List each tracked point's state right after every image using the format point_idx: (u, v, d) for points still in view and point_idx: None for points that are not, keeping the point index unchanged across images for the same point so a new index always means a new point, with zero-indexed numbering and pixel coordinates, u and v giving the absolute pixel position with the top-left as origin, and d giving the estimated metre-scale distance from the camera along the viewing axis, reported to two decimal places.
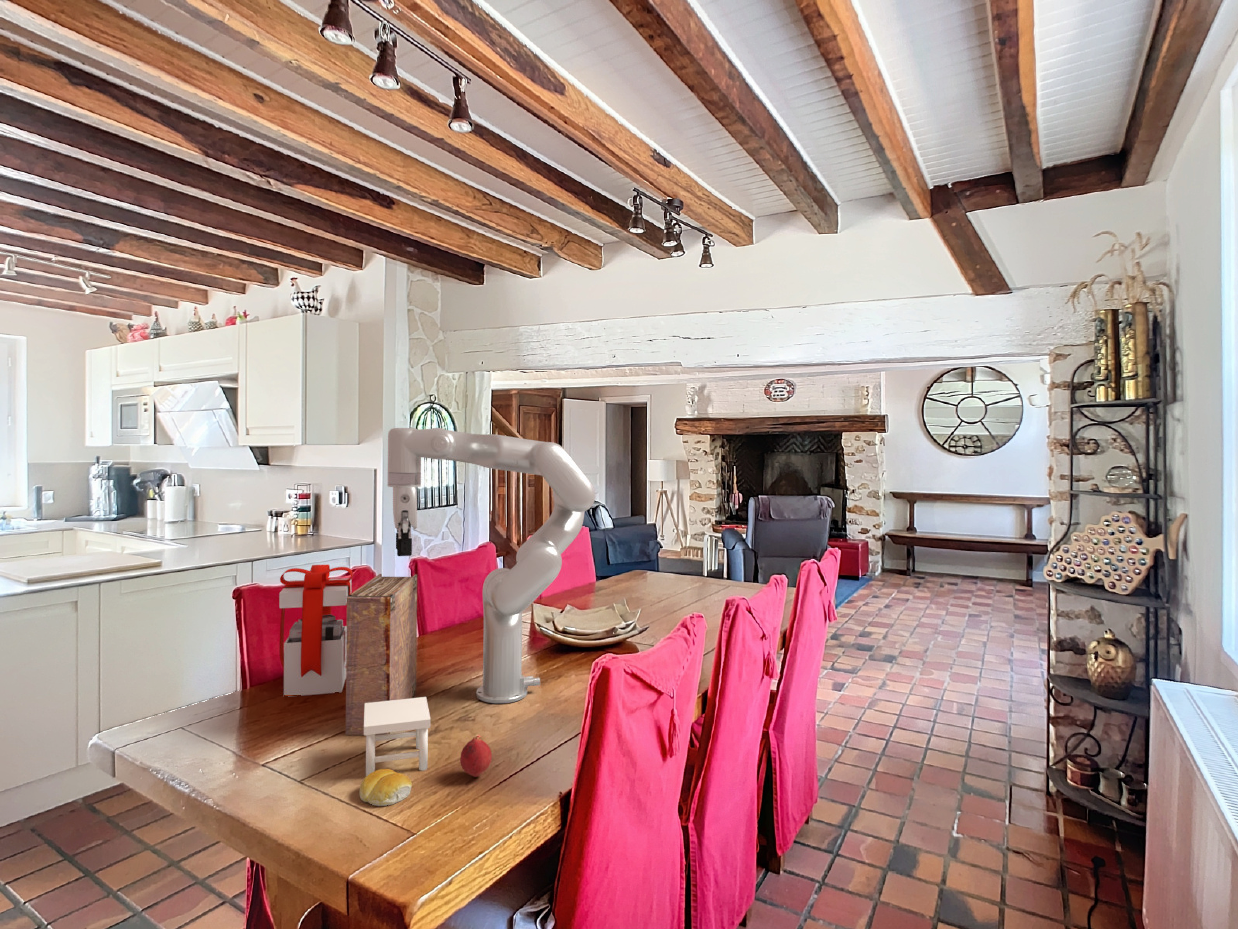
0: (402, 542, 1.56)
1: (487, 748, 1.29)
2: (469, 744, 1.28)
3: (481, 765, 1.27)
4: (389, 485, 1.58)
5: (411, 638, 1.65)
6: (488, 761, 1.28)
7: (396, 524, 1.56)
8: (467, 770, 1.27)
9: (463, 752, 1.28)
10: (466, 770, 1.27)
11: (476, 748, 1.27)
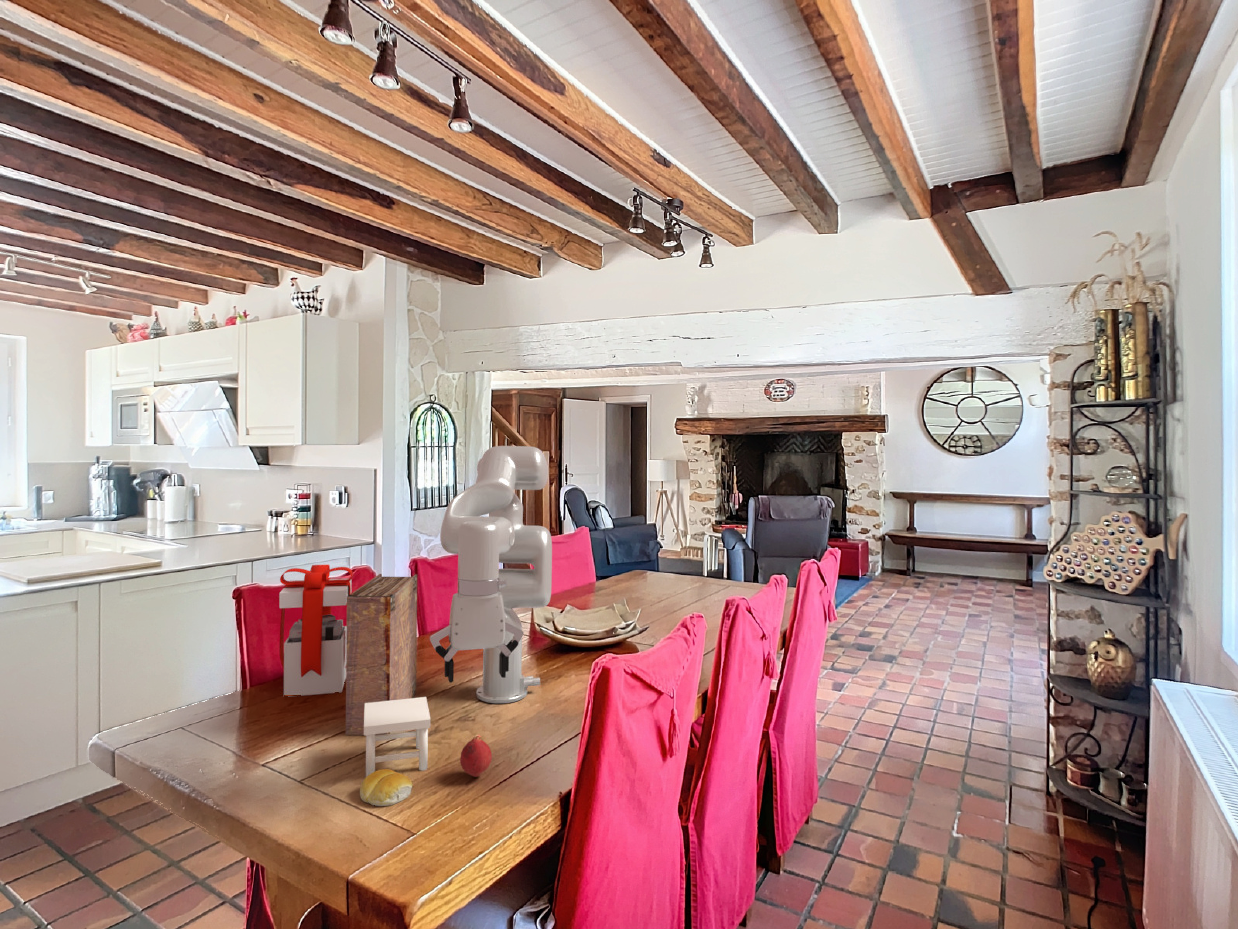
0: None
1: (487, 748, 1.29)
2: (469, 744, 1.28)
3: (481, 765, 1.27)
4: (489, 595, 1.25)
5: (411, 638, 1.65)
6: (488, 761, 1.28)
7: (503, 640, 1.28)
8: (467, 770, 1.27)
9: (463, 752, 1.28)
10: (466, 770, 1.27)
11: (476, 748, 1.27)
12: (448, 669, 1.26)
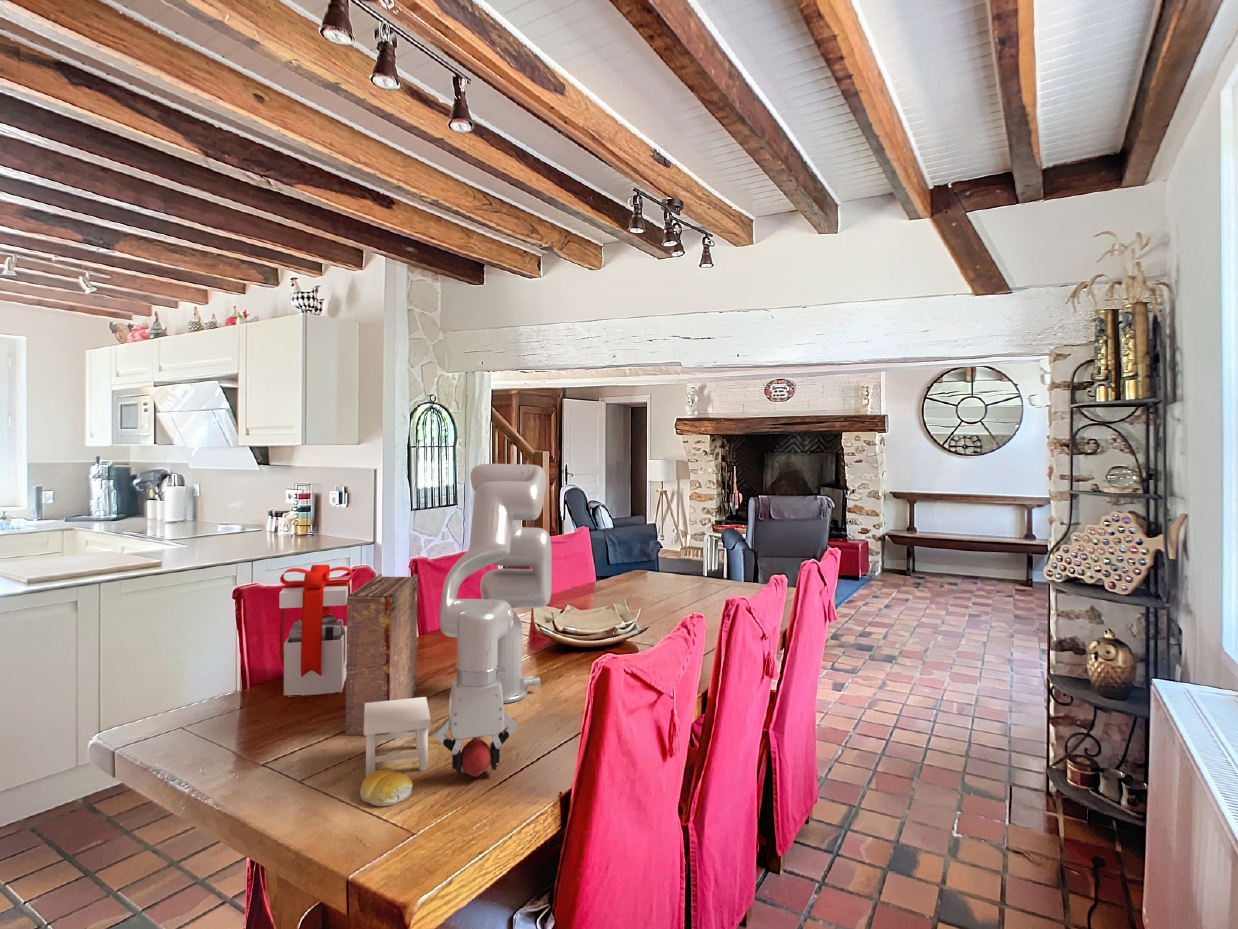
0: None
1: (487, 748, 1.29)
2: (469, 744, 1.28)
3: (481, 765, 1.27)
4: (488, 685, 1.26)
5: (411, 638, 1.65)
6: (488, 761, 1.28)
7: (502, 727, 1.29)
8: (467, 770, 1.27)
9: (463, 752, 1.28)
10: (466, 770, 1.27)
11: (476, 748, 1.27)
12: (456, 762, 1.27)
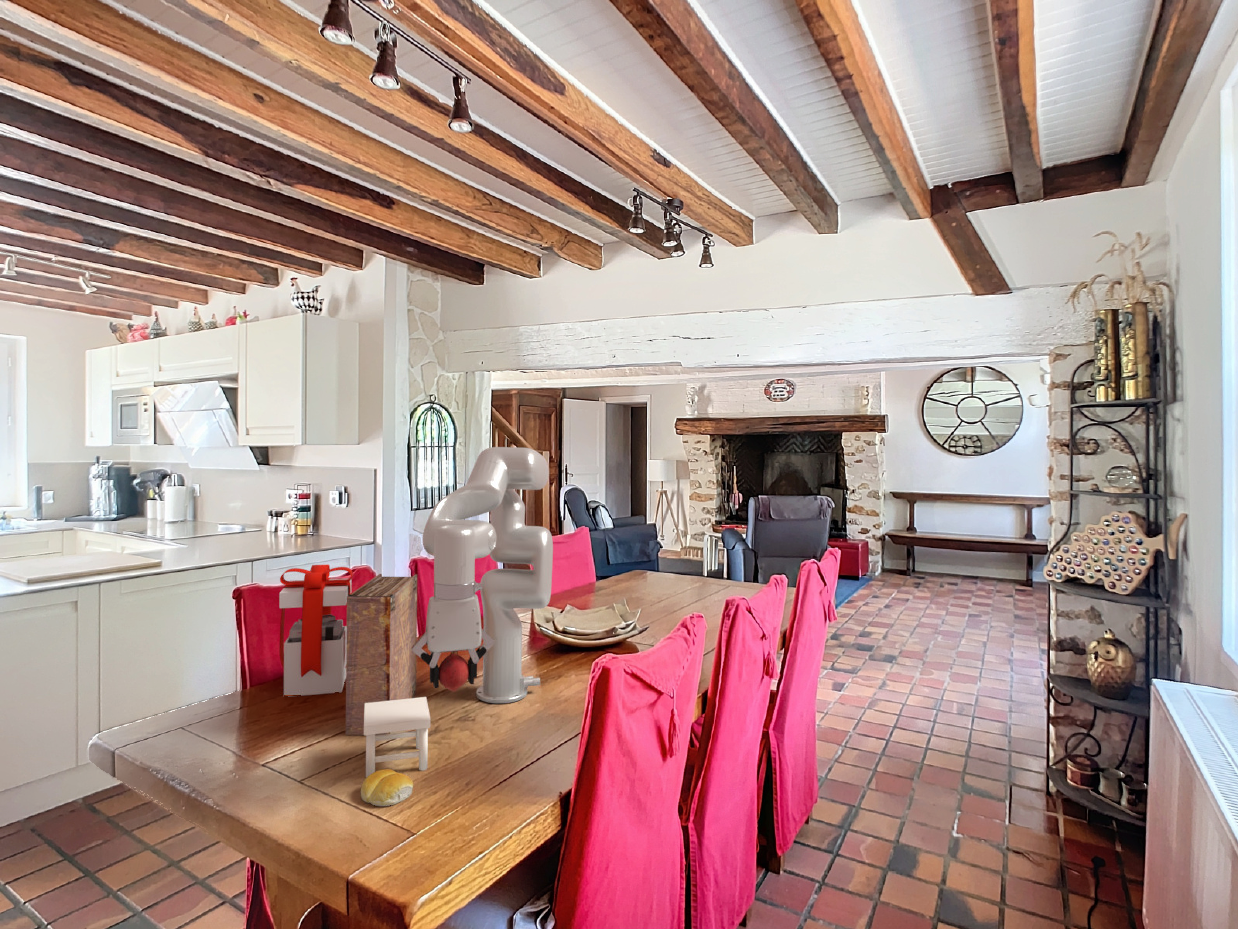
0: (476, 665, 1.31)
1: (465, 662, 1.30)
2: (447, 658, 1.29)
3: (458, 678, 1.28)
4: (465, 599, 1.27)
5: (411, 638, 1.65)
6: (466, 675, 1.29)
7: (480, 642, 1.30)
8: (445, 683, 1.28)
9: (441, 666, 1.29)
10: (444, 683, 1.28)
11: (453, 662, 1.29)
12: (433, 675, 1.28)
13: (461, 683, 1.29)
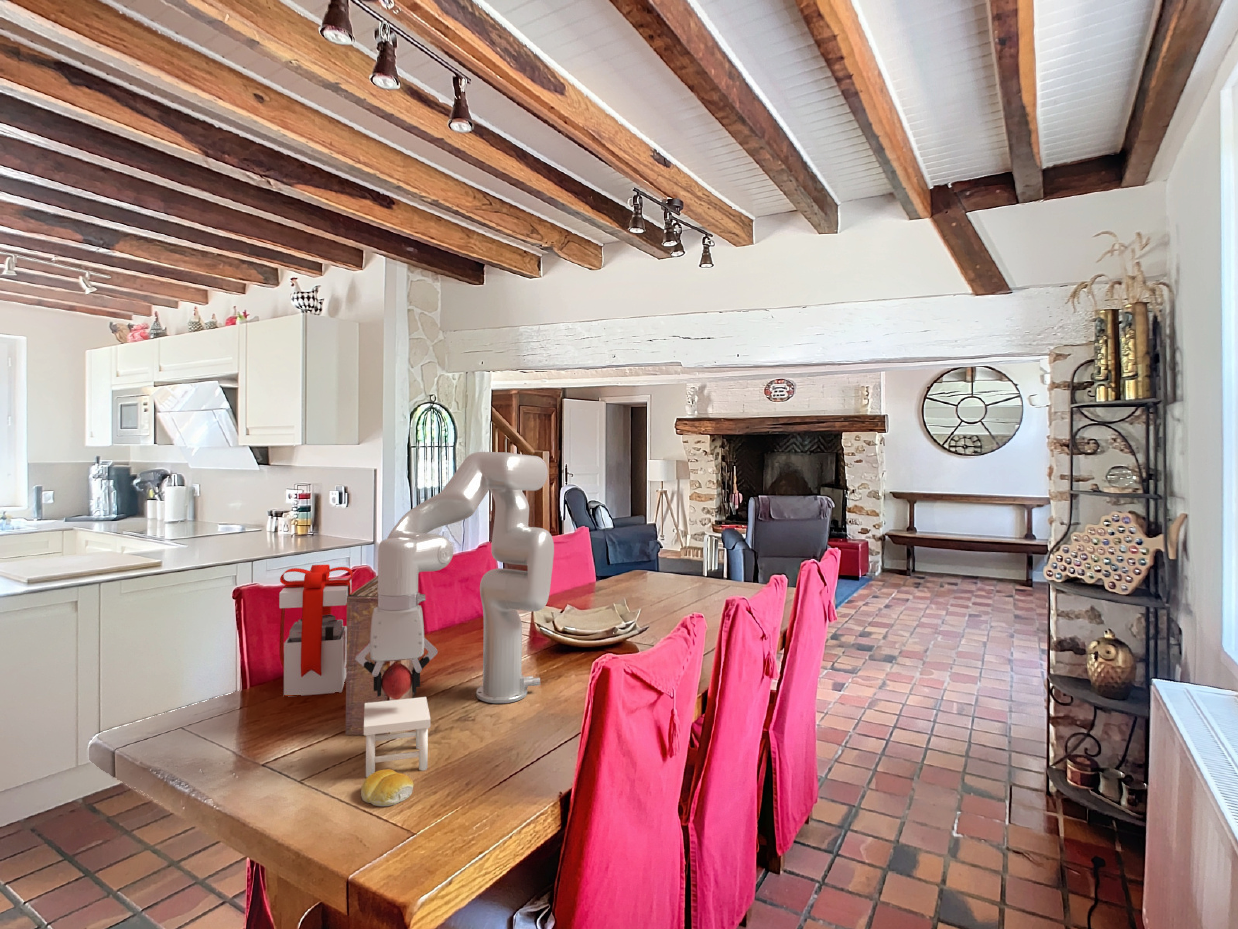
0: (419, 675, 1.35)
1: (407, 671, 1.34)
2: (389, 667, 1.33)
3: (400, 686, 1.32)
4: (407, 610, 1.31)
5: None
6: (408, 684, 1.33)
7: (422, 652, 1.34)
8: (387, 692, 1.32)
9: (383, 675, 1.33)
10: (386, 692, 1.32)
11: (395, 671, 1.32)
12: (376, 684, 1.32)
13: (403, 691, 1.33)
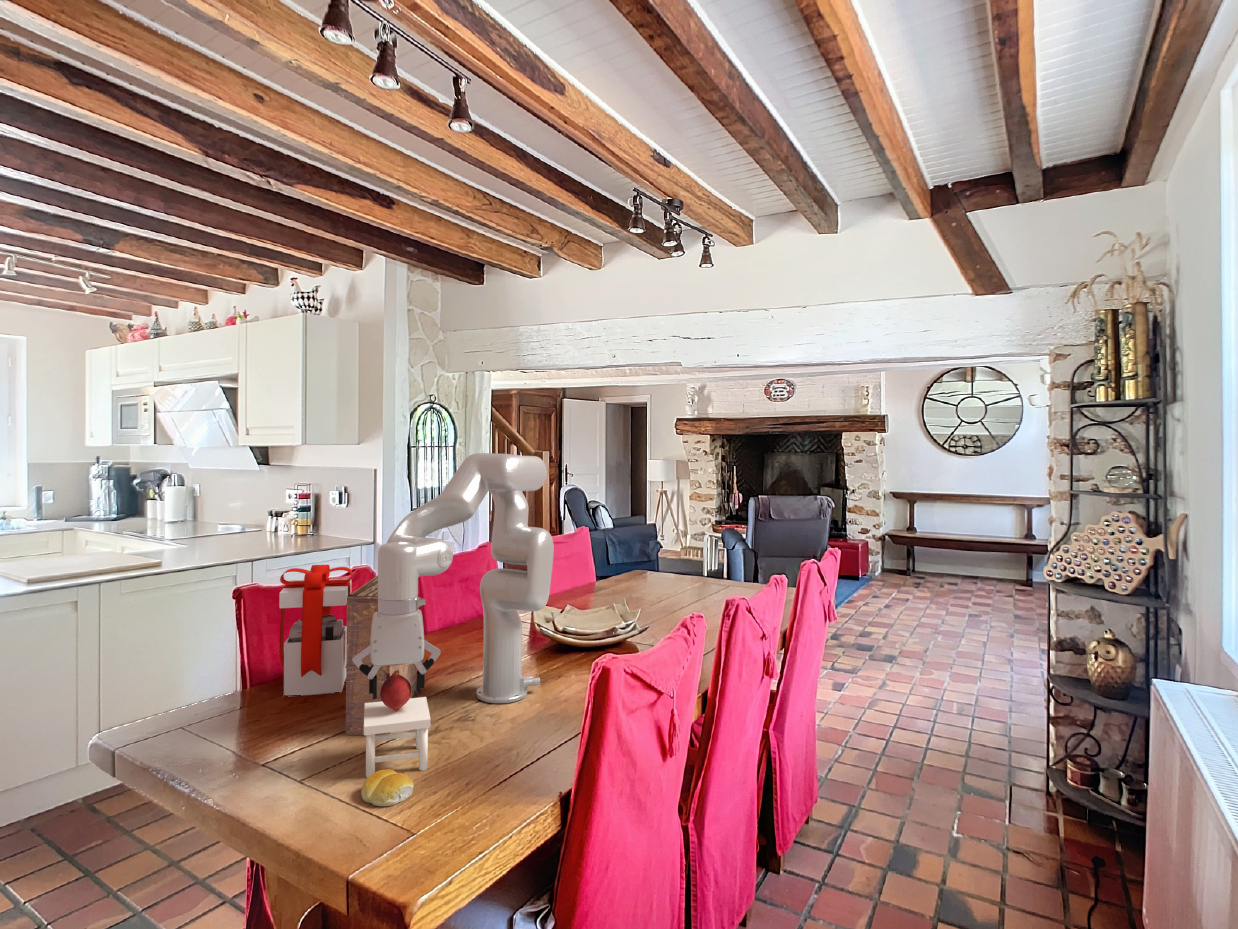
0: (424, 676, 1.36)
1: (406, 682, 1.34)
2: (388, 679, 1.33)
3: (399, 697, 1.32)
4: (407, 614, 1.31)
5: None
6: (407, 694, 1.33)
7: (422, 656, 1.34)
8: (386, 703, 1.32)
9: (382, 687, 1.33)
10: (385, 703, 1.32)
11: (394, 682, 1.33)
12: (372, 686, 1.32)
13: (403, 702, 1.33)
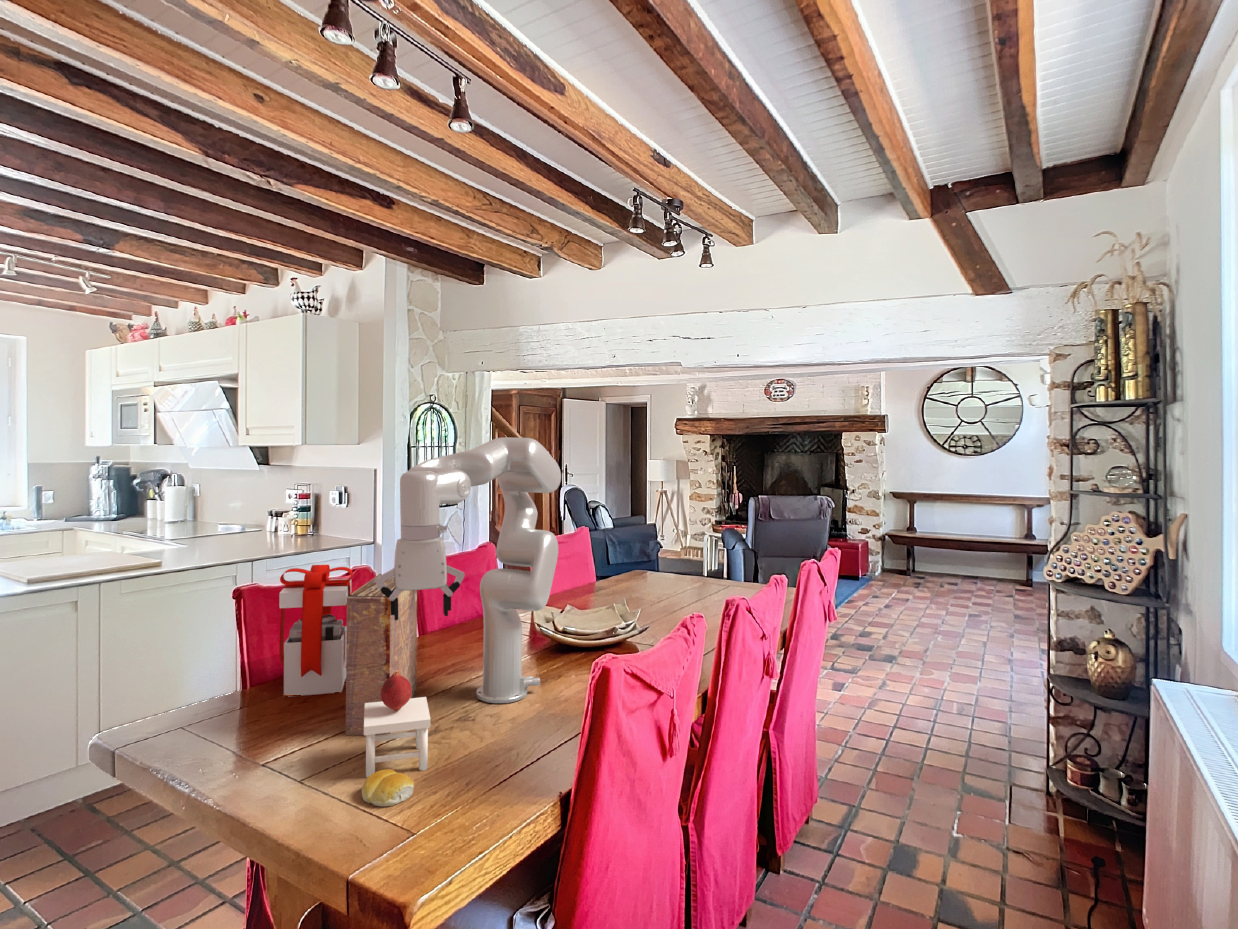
0: (450, 599, 1.39)
1: (406, 683, 1.34)
2: (389, 679, 1.33)
3: (400, 698, 1.32)
4: (429, 540, 1.35)
5: (411, 638, 1.65)
6: (407, 695, 1.33)
7: (445, 581, 1.38)
8: (387, 703, 1.32)
9: (383, 687, 1.33)
10: (386, 704, 1.32)
11: (395, 682, 1.33)
12: (393, 608, 1.36)
13: (403, 703, 1.33)
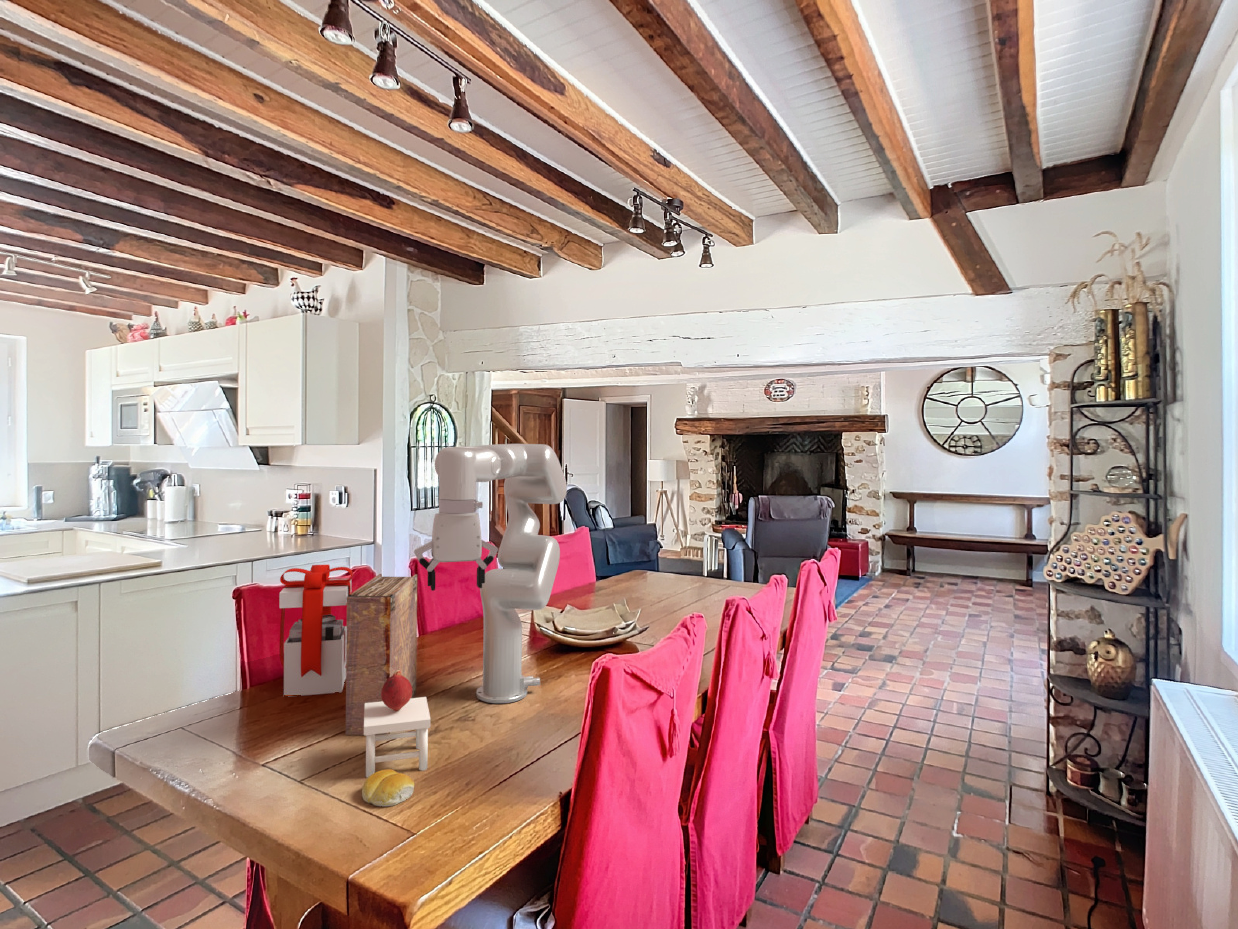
0: (484, 572, 1.46)
1: (407, 683, 1.34)
2: (389, 679, 1.33)
3: (400, 698, 1.32)
4: (467, 513, 1.41)
5: (411, 638, 1.65)
6: (408, 695, 1.33)
7: (480, 554, 1.44)
8: (387, 703, 1.32)
9: (384, 686, 1.33)
10: (386, 703, 1.32)
11: (396, 682, 1.33)
12: (430, 579, 1.42)
13: (403, 703, 1.33)
